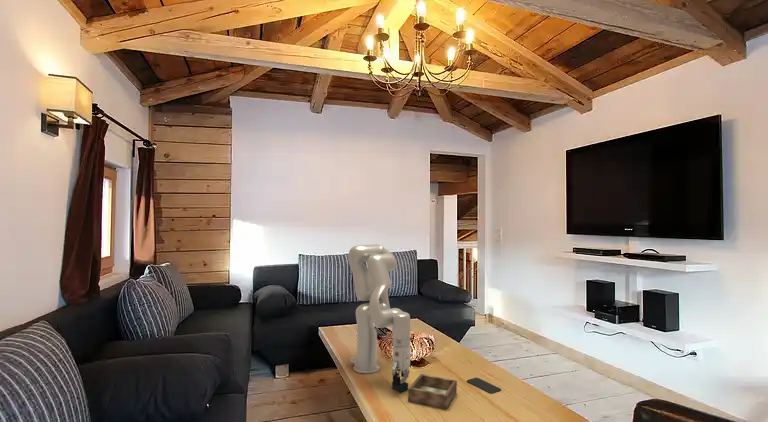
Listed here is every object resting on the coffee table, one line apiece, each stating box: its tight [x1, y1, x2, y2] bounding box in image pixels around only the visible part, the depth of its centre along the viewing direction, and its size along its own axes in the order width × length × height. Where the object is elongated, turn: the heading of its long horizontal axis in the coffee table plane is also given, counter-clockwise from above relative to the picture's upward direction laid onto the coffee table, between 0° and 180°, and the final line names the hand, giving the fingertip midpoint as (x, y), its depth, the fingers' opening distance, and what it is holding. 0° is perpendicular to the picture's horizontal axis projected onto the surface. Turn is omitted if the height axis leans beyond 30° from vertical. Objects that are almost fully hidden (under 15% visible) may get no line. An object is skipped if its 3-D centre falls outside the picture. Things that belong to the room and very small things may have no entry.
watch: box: [391, 367, 411, 394], centre depth 179 cm, size 6×8×11 cm
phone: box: [466, 377, 502, 395], centre depth 185 cm, size 7×1×15 cm
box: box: [407, 373, 458, 411], centre depth 172 cm, size 16×16×6 cm
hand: (400, 381), depth 179 cm, fingers open, 9 cm apart
